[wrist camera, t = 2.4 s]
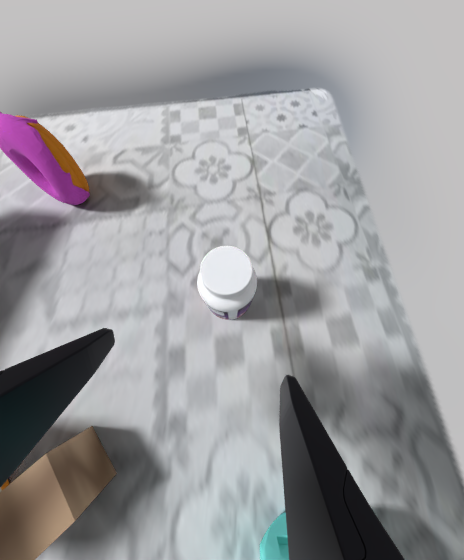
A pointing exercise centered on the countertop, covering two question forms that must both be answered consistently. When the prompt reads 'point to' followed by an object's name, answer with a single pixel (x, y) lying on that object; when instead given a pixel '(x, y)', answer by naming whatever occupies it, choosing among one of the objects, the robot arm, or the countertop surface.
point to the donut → (42, 159)
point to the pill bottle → (227, 282)
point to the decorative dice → (275, 541)
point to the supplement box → (4, 485)
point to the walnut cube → (52, 495)
